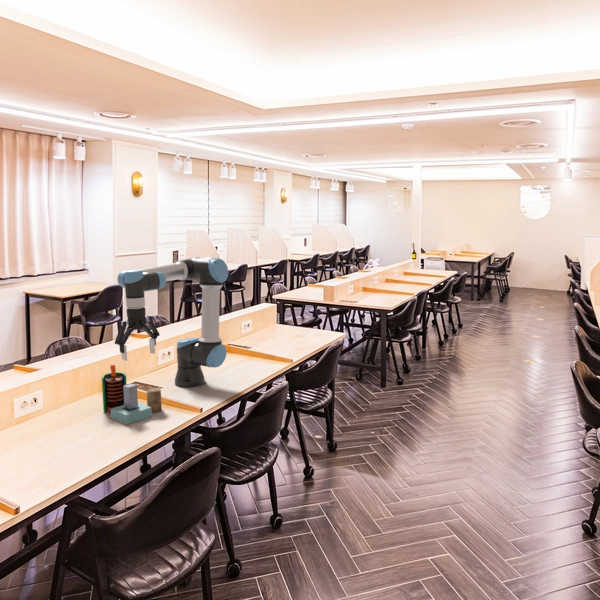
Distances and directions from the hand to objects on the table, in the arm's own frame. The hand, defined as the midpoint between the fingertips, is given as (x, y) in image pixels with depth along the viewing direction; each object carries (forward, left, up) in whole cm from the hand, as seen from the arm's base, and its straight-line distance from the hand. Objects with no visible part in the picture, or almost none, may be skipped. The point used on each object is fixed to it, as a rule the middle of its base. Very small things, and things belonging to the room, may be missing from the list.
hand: (139, 356), depth 227 cm
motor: (+3, -15, -26) cm, 30 cm away
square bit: (+4, -1, -26) cm, 26 cm away
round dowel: (-7, 0, -26) cm, 27 cm away
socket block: (+4, -1, -26) cm, 26 cm away
